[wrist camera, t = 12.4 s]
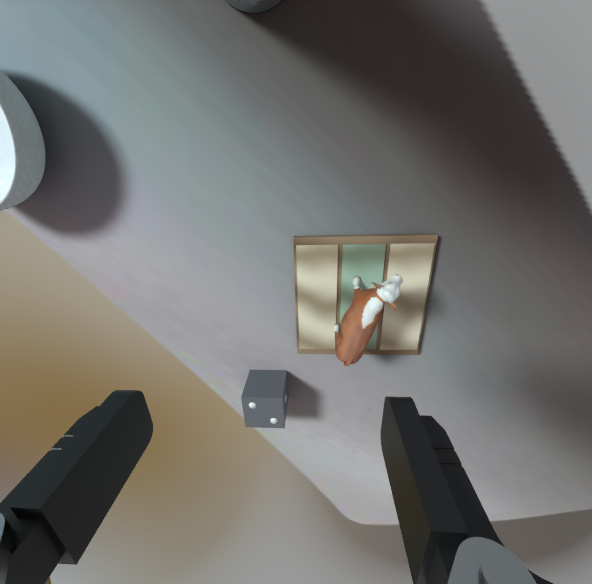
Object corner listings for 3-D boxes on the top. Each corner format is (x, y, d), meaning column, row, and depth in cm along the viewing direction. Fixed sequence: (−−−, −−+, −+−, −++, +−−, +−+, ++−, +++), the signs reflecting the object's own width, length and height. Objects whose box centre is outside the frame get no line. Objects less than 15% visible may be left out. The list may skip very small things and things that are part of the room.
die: (250, 370, 47) (241, 397, 41) (286, 370, 46) (283, 398, 41) (253, 398, 49) (245, 428, 44) (288, 399, 49) (285, 429, 43)
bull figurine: (396, 262, 37) (416, 287, 30) (350, 342, 42) (358, 380, 35) (365, 250, 37) (378, 272, 29) (323, 332, 42) (325, 368, 34)
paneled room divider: (294, 236, 37) (293, 237, 36) (435, 233, 36) (438, 235, 35) (297, 350, 45) (297, 354, 44) (415, 351, 43) (418, 355, 42)
